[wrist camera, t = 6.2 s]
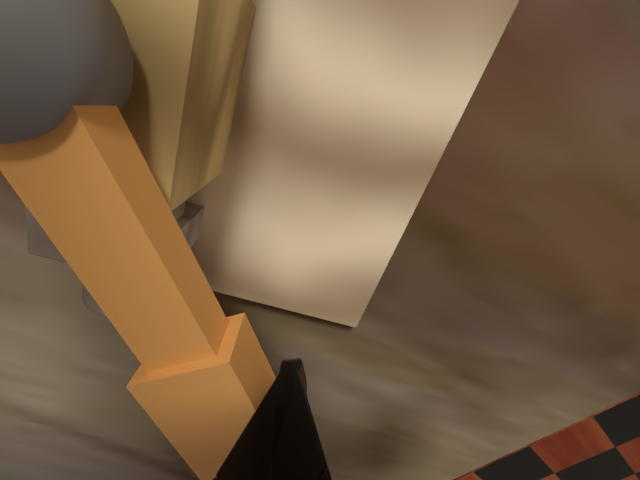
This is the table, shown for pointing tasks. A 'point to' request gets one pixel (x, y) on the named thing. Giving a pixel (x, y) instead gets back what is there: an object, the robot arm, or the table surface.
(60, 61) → the valve lever
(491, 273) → the table surface
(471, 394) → the table surface
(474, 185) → the table surface
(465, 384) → the table surface
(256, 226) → the valve plank
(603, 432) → the chessboard
